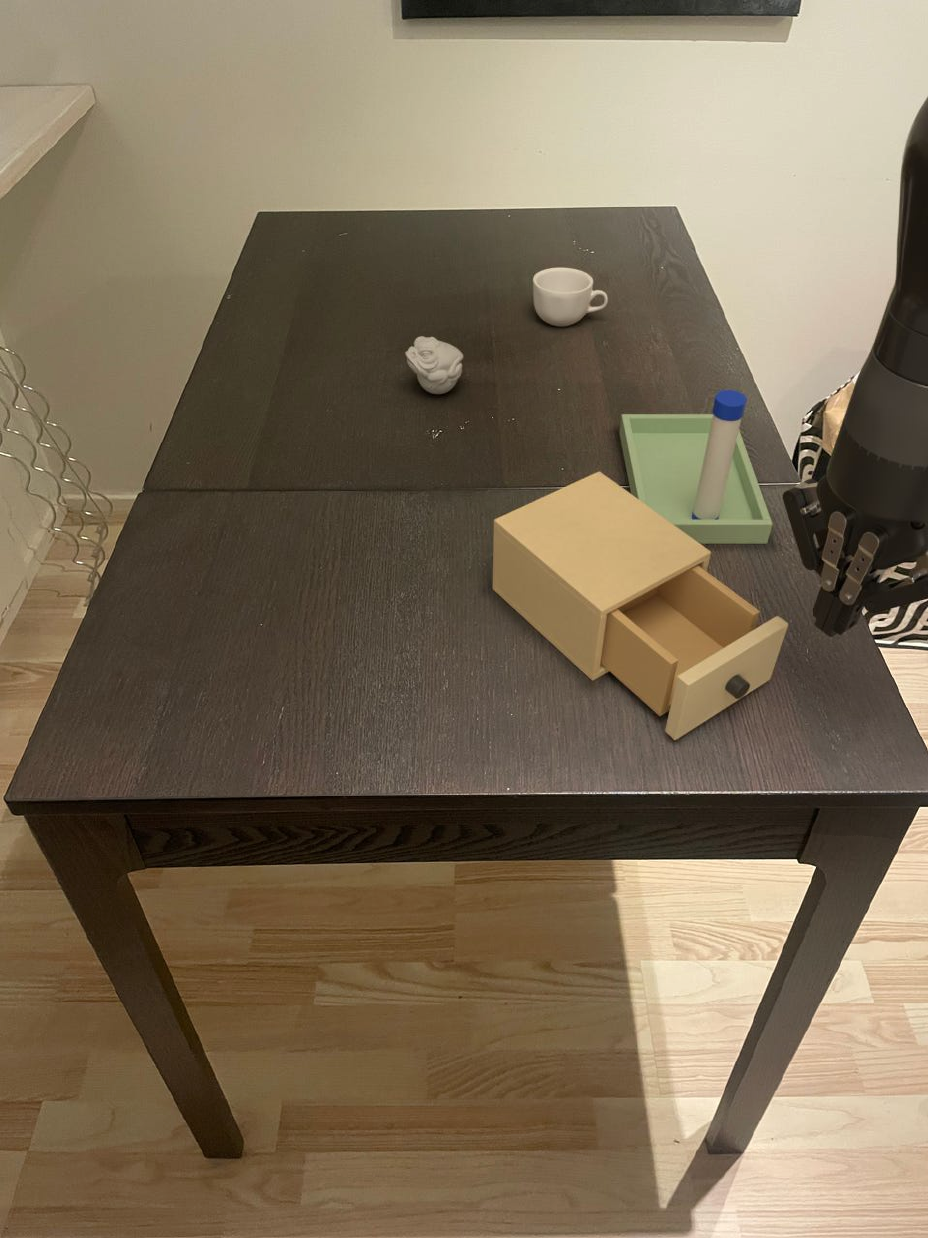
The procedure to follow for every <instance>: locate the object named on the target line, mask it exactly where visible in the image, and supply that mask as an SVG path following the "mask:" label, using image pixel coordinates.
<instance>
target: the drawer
mask: <svg viewBox="0 0 928 1238" xmlns="http://www.w3.org/2000/svg"><path fill="white" fill-rule="evenodd" d="M760 611H761V610H759V609H758V608H756V607H755V606H754V605H752V604H751V603H750V602H748V601H747V600H745V598H743V597H741V595H738V593H736V592H735V591H733V590H732V589H731V588H729V587H728V586H726V585H725V584H724V583H722V581H720V580H719V579H717V578H716V577H714V575H712V574H711V573H709V572H708V571H707V572H706V571H705V570H704V569H702V568H701V567H700V566H698V565H696V566H694V567H692V568H690V569H688V570H686V571H685V572H683V573H681V574H679V575H677V576H675V577H674V578H672V579H670V580H668V581H666V582H664V583H663V584H661V585H659V586H657V587H655V588H653V589H652V590H650V591H648V592H646V593H644V594H642V595H641V596H639V597H637V598H635V599H633V600H631V601H630V602H628V603H626V604H624V605H622V606H620V607H619V608H617V609H615V610H613V611H611V612H609V613H608V614H607V619H606V626H605V633H604V640H603V647H602V654H601V662H600V663H601V664H602V665H603V666H604V667H606V668H607V669H608V670H609V672H610V673H611V674H612V676H614V677H615V678H616V679H618V680H619V682H621V683H622V684H623V685H624V686H625V687H627V689H629V690H630V691H631V692H632V693H633V694H634V695H635V696H637V697H638V698H639V700H640V701H642V702H643V703H644V704H645V705H647V707H649V708H650V709H651V710H652V711H653V712H655V714H657V715H658V717H661V716H663V715H665V714H666V713H667V712H668V716H667V721H666V725H665V728H664V732H665V733H666V734H667V735H669V736H670V737H671V739H673V741H676V740H678V739H680V738H681V737H683V736H684V735H686V734H688V733H689V732H691V731H692V730H694V729H696V728H697V727H699V726H700V725H702V724H703V723H705V722H706V721H708V720H709V719H711V718H713V717H714V716H716V715H717V714H719V713H720V712H722V711H723V710H725V709H727V708H728V707H729V706H731V705H734V703H736V702H737V701H739V700H741V699H742V698H745V696H747V695H748V694H750V693H751V692H753V691H755V690H756V689H758V688H759V687H761V686H762V685H764V684H766V683H767V682H769V681H770V680H771V678H772V676H773V673H774V670H775V666H776V663H777V660H778V657H779V654H780V651H781V648H782V645H783V642H784V638H785V636H786V633H787V630H788V627H789V623H788V622H787V621H786V620H784V619H783V618H782V617H780V616H779V615H776V616H774V617H773V618H771V619H769V620H768V621H766V622H764V623H763V624H761V625H759V626H757V623H758V619H759V616H760V613H761V612H760ZM756 626H757V627H756Z"/></svg>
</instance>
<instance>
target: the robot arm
mask: <svg viewBox="0 0 928 1238" xmlns="http://www.w3.org/2000/svg"><path fill="white" fill-rule="evenodd" d="M899 178H900V180H899V181H900V182H899V198H898V199H899V201H898V220H897V235H896V260H895V261H896V264H895V279H894V283H893V286H892V289H891V291H890V294H889V296H888V299H887V302H886V305H885V307H884V311H883V314H882V317H881V320H880V322H879V325H878V329H877V333H876V334H875V338H874V341H873V343H872V346H871V349H870V351H869V352H868V355H867V357H866V359H865V361H864V363H863V365H862V367H861V368H860V371H859V373H858V375H857V378H856V380H855V383H854V385H853V389H852V392H851V394H850V398H849V401H848V404H847V407H846V409H845V412H844V416H843V419H842V422H841V425H840V428H839V431H838V434H837V437H836V440H835V442H834V443H835V444H834V446H833V449H832V452H831V454H830V458H829V461H828V464H827V467H826V474H824V475H823V476H821V477H820V478H819V480H818V481H817V480H816V479H815V478H808V479H806V480H804V481H802V482H800V483H799V484H797V485H795V486H793V487H791V488H789V489H787V490H786V491H784V492H783V494H782V501H783V505H784V508H785V511H786V514H787V517H788V521H789V524H790V526H791V531H792V533H793V538H794V540H795V544H796V547H797V550H798V553H799V557H800V559H801V562H802V563H801V564H802V565H803V567H804V568H805V569H806V570H808V571H815V573H816V574H817V575H818V576H819V584H820V588H819V591H818V594H817V597H816V599H815V601H814V604H813V607H812V617H814V618H815V620H814V623H813V626H814V627H815V628H817V629H818V630H819V631H821V632H822V633H824V634H825V635H826V636H828V637H829V638H833V637H834V636H836V635H839V636H841V635H843V634H844V633H846V632H848V631H849V630H851V629H852V628H854V627H855V626H856V625H858V622H859V620H860V618H861V615H862V614H863V613H862V612H863V611H864V609H865V610H866V611H867V612H868V613H870V614H877V613H881V612H885V611H889V610H892V609H895V608H899V607H903V606H907V605H910V604H915V603H917V602H921V601H925V600H928V96H927V97H926V98H925V100H924V102H923V103H922V105H921V106H920V108H919V110H918V112H917V114H916V115H915V116H914V120H913V122H912V123H911V126H910V129H909V131H908V134H907V137H906V140H905V144H904V148H903V153H902V158H901V167H900V177H899ZM814 536H815V538H814ZM815 539H816V542H817V545H816V542H815ZM817 546H818V547H817ZM912 560H913V561H914V560H915V561H916V563H915V566H914V567H912V568H910V570H909V571H908V577H905V578H900V579H898V580H895V581H891V582H888V583H886V584H885V583H882V582H881V580H882V578H883V577H884V575H885V573H886V572H887V571H888V570H889V569H891V568H893V567H897V566H900V565H902V564H904V563H907V562H910V561H912Z"/></svg>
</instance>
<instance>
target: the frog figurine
mask: <svg viewBox="0 0 928 1238" xmlns="http://www.w3.org/2000/svg"><path fill="white" fill-rule="evenodd" d="M413 345H414V346H410V347H409V348H408V350H407V351H405V352H404V353H405V356H406V363H407V365H408V367H409V368H410V369H411V371H412V372H413V373H415V374H416V378H417V381H418V382H419V385H420V386H421V388H422V389H423V390H425V391H426V392H428V393H430V394H433V395H442V394H446V393H448V392H449V391H451V390H452V389H453V388H454V387H455V386H456V384H457V382H458V380H459V378H460V377H461V376H462V372H463V363H462V361H463V359H464V354H463V353H462V352H461V350H460V349H459V348H457V347H456V346H454V345H452V344H451V343H448V342H444V341H441V340H438V339H437V338H436V337H434V336H430V337H426V336H423V335H421V336H418V337H416V338H415V340H414V342H413Z"/></svg>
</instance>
